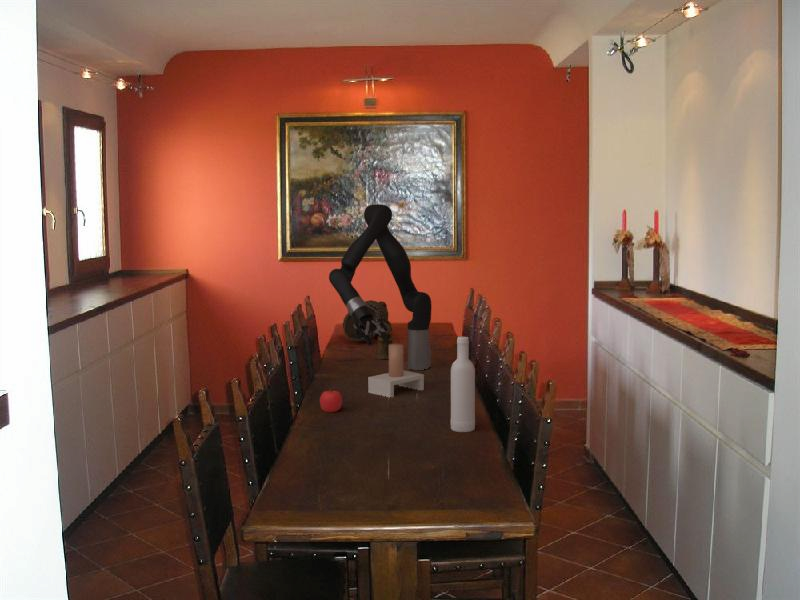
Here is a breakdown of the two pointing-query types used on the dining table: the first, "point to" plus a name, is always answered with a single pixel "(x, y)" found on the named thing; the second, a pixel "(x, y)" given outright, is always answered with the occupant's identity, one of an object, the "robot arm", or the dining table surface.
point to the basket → (378, 312)
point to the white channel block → (394, 383)
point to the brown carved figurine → (384, 344)
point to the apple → (330, 401)
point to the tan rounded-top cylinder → (395, 360)
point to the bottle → (462, 389)
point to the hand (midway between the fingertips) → (379, 342)
